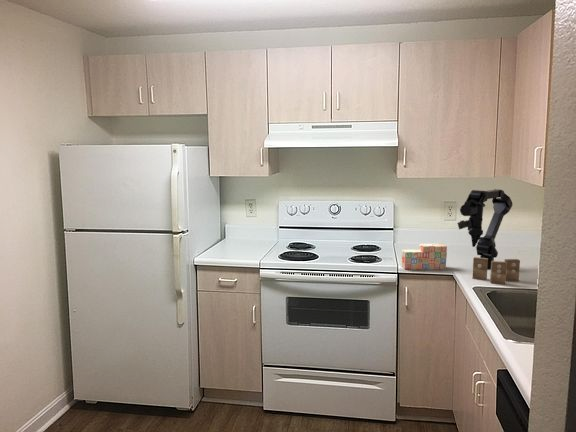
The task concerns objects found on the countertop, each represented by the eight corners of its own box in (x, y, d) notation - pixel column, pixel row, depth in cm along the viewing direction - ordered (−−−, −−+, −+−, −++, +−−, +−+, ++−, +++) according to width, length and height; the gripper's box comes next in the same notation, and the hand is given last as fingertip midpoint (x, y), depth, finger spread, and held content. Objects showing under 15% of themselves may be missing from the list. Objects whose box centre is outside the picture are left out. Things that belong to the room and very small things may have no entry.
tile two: (503, 280, 225) (504, 259, 224) (515, 279, 225) (517, 259, 224) (506, 281, 222) (507, 260, 221) (518, 281, 223) (520, 260, 221)
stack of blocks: (404, 270, 245) (405, 246, 243) (401, 267, 251) (402, 243, 249) (446, 269, 245) (447, 245, 244) (441, 266, 252) (442, 243, 250)
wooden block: (473, 277, 230) (474, 257, 228) (486, 279, 227) (487, 258, 225) (472, 278, 227) (473, 258, 226) (485, 280, 225) (487, 259, 223)
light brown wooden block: (490, 282, 222) (491, 260, 220) (504, 282, 220) (505, 261, 219) (491, 283, 219) (492, 262, 218) (505, 284, 218) (506, 262, 216)
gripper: (458, 213, 249) (456, 242, 250) (459, 215, 231) (456, 247, 233) (481, 214, 245) (479, 244, 247) (484, 217, 228) (481, 250, 229)
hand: (473, 246), depth 239 cm, fingers closed
